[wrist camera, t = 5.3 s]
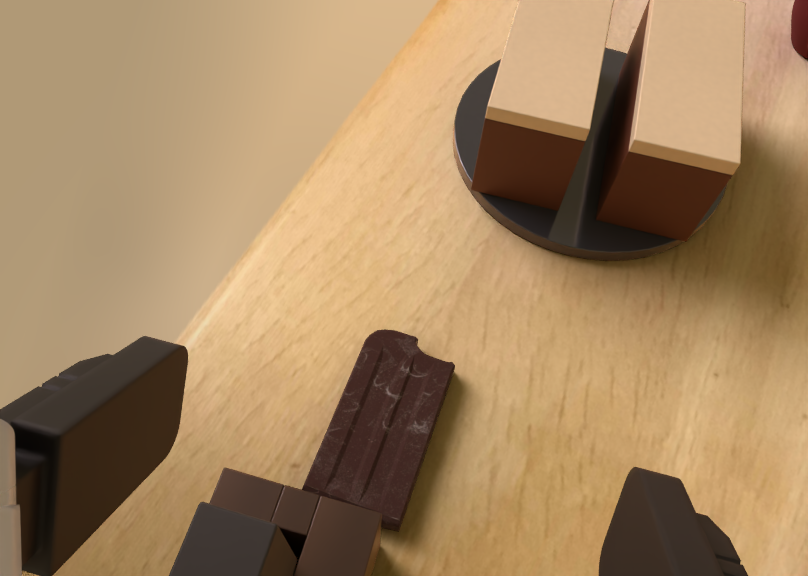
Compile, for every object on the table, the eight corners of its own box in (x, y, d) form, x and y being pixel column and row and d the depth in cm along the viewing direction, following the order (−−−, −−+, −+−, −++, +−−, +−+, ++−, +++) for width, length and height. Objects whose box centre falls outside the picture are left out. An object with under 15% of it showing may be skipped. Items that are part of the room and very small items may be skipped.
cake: (470, 190, 45) (487, 106, 39) (510, 49, 52) (530, -42, 45) (686, 242, 44) (741, 164, 37) (698, 90, 51) (746, 2, 44)
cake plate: (422, 219, 45) (423, 210, 44) (483, 32, 54) (485, 21, 53) (717, 292, 43) (724, 284, 42) (727, 85, 52) (733, 75, 52)
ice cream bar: (364, 632, 33) (457, 362, 40) (364, 629, 32) (460, 350, 39) (263, 592, 34) (372, 334, 41) (258, 587, 32) (372, 320, 40)
